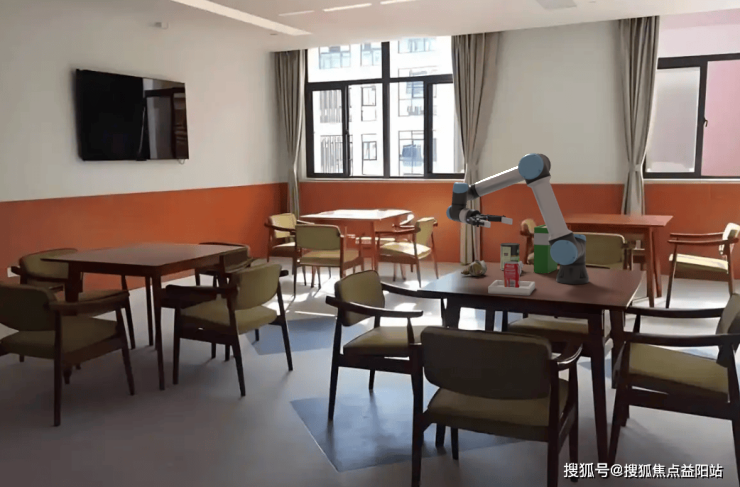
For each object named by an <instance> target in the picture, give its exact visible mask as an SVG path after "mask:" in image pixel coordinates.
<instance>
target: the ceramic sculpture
mask: <svg viewBox="0 0 740 487" xmlns="http://www.w3.org/2000/svg"><path fill="white" fill-rule="evenodd" d="M487 271H488V267H487V264H486V262H485V260H479V259H475V260H474V261H472V262H471V263H469V265H468V267H467V268H465V269H464V270H463V271H461V272H460V274H461V275H465V276H468V275H470V276H472V277H480V276H481V275H485V274H486V273H487Z"/></svg>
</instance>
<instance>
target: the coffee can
mask: <svg viewBox="0 0 740 487" xmlns="http://www.w3.org/2000/svg"><path fill="white" fill-rule="evenodd" d="M499 245H500V270H501V271H504V265H505V264H506V263H505V262H509V261H514V262H519V261H520V246H521V245H520V243H519V242H518V243H517V242H502V243H500V244H499Z"/></svg>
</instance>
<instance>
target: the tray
mask: <svg viewBox="0 0 740 487" xmlns="http://www.w3.org/2000/svg"><path fill="white" fill-rule="evenodd" d="M535 289H536V281H528V280H527V281H525V280H524V281H523V280H520V286H519V288H514V287H504V279H502V280H500V279H495V280H494V281H493V282H492V283H490V285H488V286H487V290H488V292H487V294H491V295H493V294H495V295H510V296H511V295H512V296H513V295H515V296H530V295H531V294H532V293H533V291H534V290H535Z"/></svg>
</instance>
